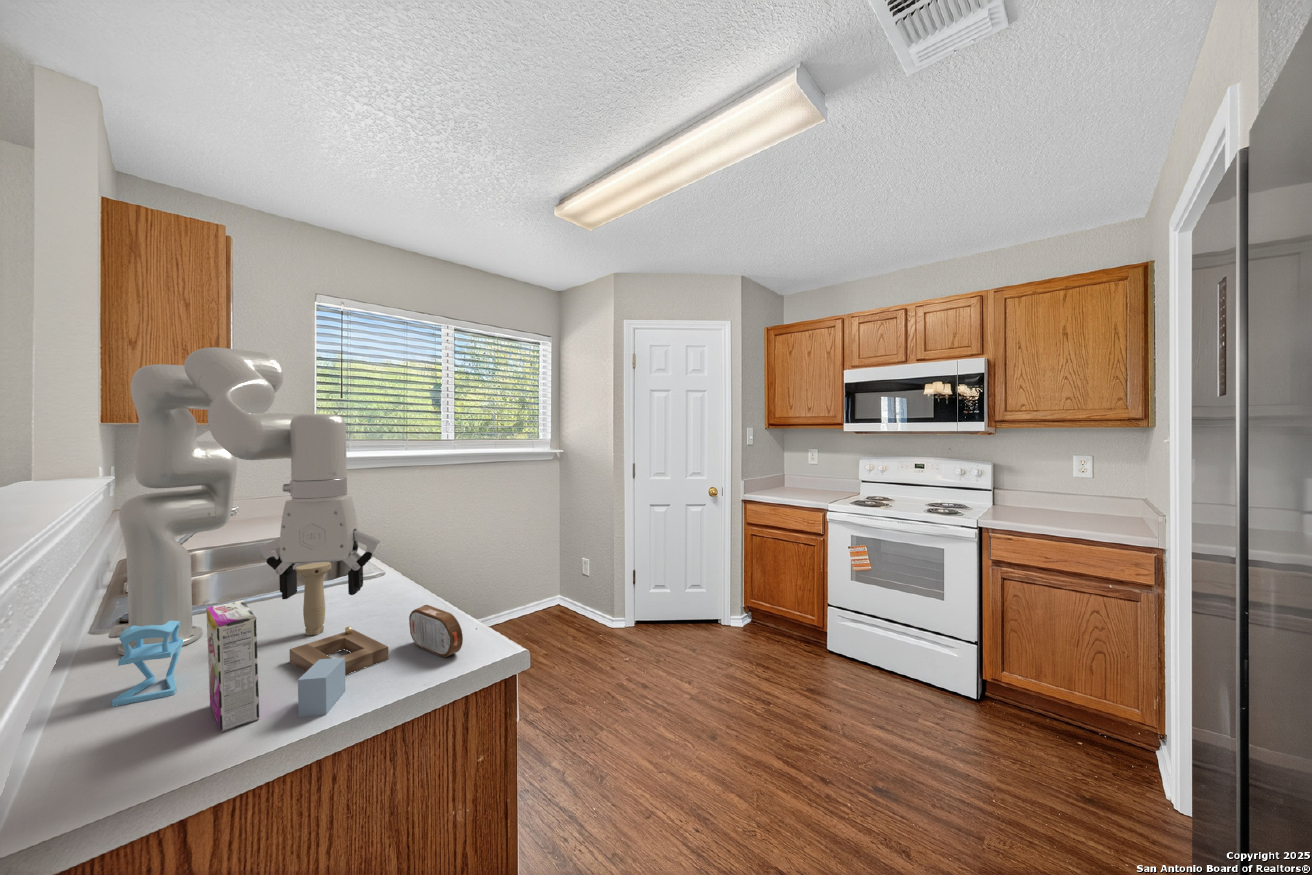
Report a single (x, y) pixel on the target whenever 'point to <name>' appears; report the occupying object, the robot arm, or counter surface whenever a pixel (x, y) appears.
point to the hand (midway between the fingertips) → (322, 594)
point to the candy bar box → (232, 664)
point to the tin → (435, 630)
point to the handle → (314, 596)
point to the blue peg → (321, 687)
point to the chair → (149, 658)
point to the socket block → (358, 644)
